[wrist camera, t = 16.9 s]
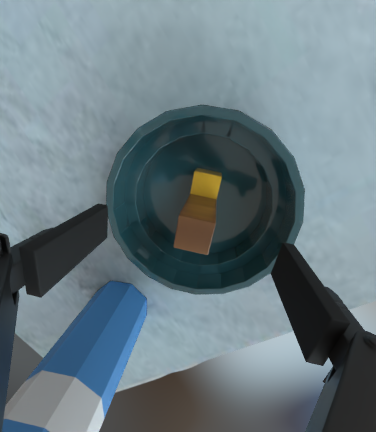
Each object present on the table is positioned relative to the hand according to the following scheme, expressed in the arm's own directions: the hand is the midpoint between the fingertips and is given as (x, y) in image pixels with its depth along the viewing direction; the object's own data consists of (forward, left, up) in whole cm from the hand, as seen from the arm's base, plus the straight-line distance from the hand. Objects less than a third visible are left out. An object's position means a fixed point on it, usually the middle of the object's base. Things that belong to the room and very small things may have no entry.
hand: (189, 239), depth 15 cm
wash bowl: (0, 0, -12) cm, 12 cm away
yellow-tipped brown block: (0, 0, -11) cm, 11 cm away
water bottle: (+21, -10, -12) cm, 26 cm away
